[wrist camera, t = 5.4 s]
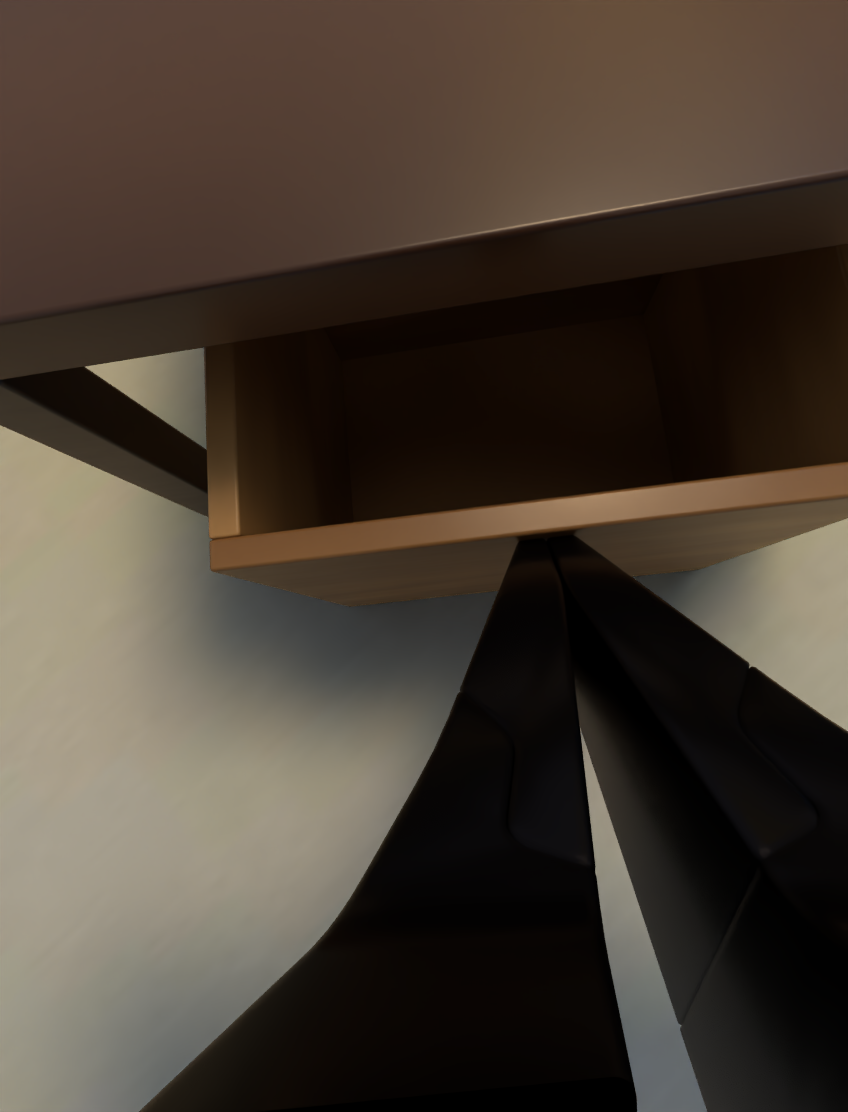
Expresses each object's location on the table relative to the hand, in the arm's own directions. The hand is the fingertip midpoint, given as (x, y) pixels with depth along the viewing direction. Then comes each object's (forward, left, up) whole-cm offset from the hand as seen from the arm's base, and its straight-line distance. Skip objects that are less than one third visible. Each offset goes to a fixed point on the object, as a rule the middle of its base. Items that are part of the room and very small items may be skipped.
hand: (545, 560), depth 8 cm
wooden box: (+4, 0, -7) cm, 8 cm away
